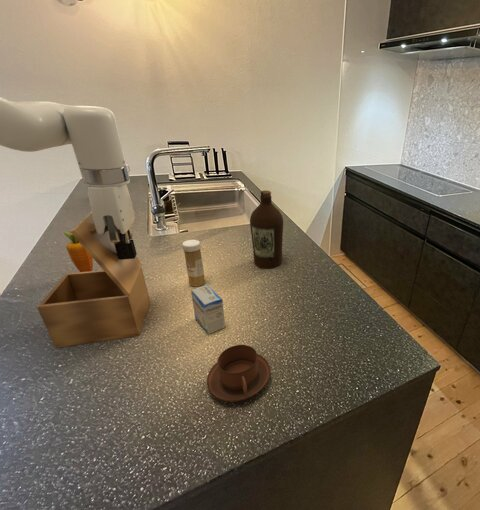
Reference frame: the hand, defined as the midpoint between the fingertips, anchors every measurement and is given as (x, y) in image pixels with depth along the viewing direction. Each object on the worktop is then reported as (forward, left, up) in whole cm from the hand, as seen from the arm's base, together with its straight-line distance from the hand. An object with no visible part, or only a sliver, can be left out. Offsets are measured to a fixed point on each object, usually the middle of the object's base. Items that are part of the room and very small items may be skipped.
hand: (128, 257), depth 68 cm
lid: (-3, 0, +2) cm, 4 cm away
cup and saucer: (+21, -26, -17) cm, 38 cm away
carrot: (-19, +24, -17) cm, 35 cm away
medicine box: (+15, -6, -17) cm, 24 cm away
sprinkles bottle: (+11, +14, -17) cm, 25 cm away
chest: (-8, 0, -17) cm, 19 cm away
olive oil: (+33, +23, -17) cm, 44 cm away
